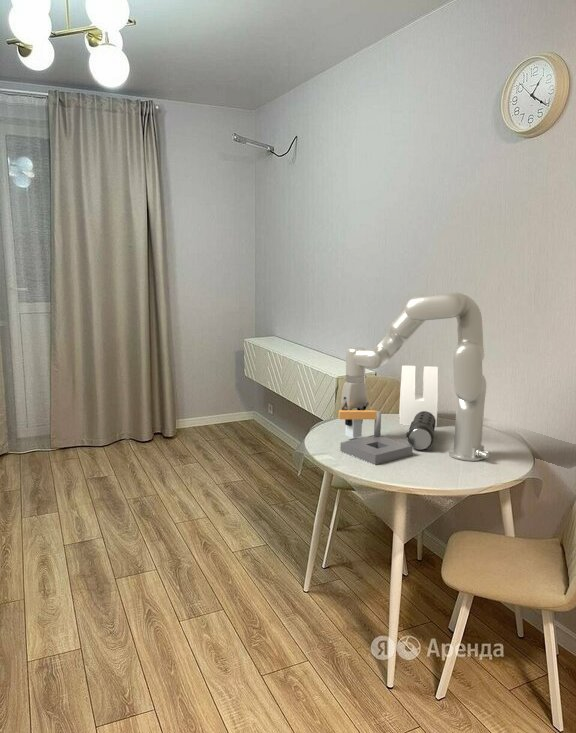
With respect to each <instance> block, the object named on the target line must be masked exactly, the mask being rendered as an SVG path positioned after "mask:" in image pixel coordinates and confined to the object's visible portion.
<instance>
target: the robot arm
mask: <svg viewBox="0 0 576 733" xmlns="http://www.w3.org/2000/svg"><path fill="white" fill-rule="evenodd" d="M482 316H483V315H482V313H481V310H480V308H479V305H478V304H477V303H476V301H475V300H474V299H472V298H471V297H470V296H468V295H466V294H464V293H461V292H450V293H443V294H442V293H441V294H437V295H435V294H434V295H425V296H424V295H418V296H413V297H411V298H410V299H409V300H407V302H406V304H405V307H404V309H403V310H402V311H401V312H400V313H399V314H398V316H396V318H395V319H394V320H393V321H392V322H391V324H390V325H389V330H388V332H387V333H386V334H385V336H384V337H383V338H382V339H381V341H379V343H378V344H377V345H376V346H375V347H373V348H370V349H365V348H364V347H359V346H352V347H348V348H347V349H346V357H345V359H346V360H345V382H344V383H343V386H342V390H341V398H340V406H339V410H355V409H356V410H367V408H368V407H369V405H370V403H369V402H368V389H367V384H366V383H367V382H366V378H367V375H366V369H370V370H376V369H379V368H380V367H382V366H384V365H386V364H387V363H388V362H389V361H390V360H391V359H392V358H393V356H395V354H396V353H397V352H398V351H399V350H400V349H401V348H402V347H403V346H404V345H405V343H406V342H408V340H409V339H410V338H411V337H412V336H413V335H414V333H416V331H417V330H418V329H419V328H420V327H421V326H422V325H423V324H424V323H425V322H426V321H431V320H432V321H433V320H445V319H446V320H447V319H454V318H456V320H457V321H456V322H457V327H456V328H457V347H456V348H455V350H454V352H453V357H452V359H453V360H452V362H453V363H452V367H453V369H452V370H453V389H454V393H455V395H456V398H457V399H456V409H455V410H456V411H455V412H456V413H455V423H454V424H455V425H454V436H453V448H451V449H449V451H448V454H449V456H451V457H452V458H453V459H455V460H456V459H457V460H461V461H468V462H476V461H477V462H478V461H482V460H484V459H488V458H489V456H490V453H491V452H490V451H488V450H485V445H483V428H484V414H485V402H486V394H487V380H486V378H485V375H484V374H483V360H484V358H485V350H484V349H485V348H484V333H483V332H484V330H483V317H482ZM344 420H345V421H344V424H345V426H346V425H348V426H352V419H344Z"/></svg>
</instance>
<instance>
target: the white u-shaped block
mask: <svg viewBox="0 0 576 733" xmlns="http://www.w3.org/2000/svg"><path fill="white" fill-rule="evenodd" d="M438 370H439V368H438V366H430V365H429V366H428V365H426V366H425V365H424V366H423V374H422V380H421V381H422V382H421V391H416V365H408V364H407V365H401V372H400V373H401V376H400V377H401V378H400V389H399V393H400V394H399V409H398V410H399V412H398V417H400V419H399V425H400V424H403V425H411V422H412V421H413V420H414V418H415V416H416V415H417V414H418V413H419V412H422V411H427V412H430V413H431V414H432V415H433V416H434V417H435V420H436V424H435V426H436V427H437V425H438V424H437V423H438V422H437V421H438V420H437V419H438V404H439V402H438V401H439V399H438V398H439V390H438V389H439V387H438V386H439V382H438V381H439V377H438V376H439V374H438V373H439V371H438ZM403 425H402V426H403Z"/></svg>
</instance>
